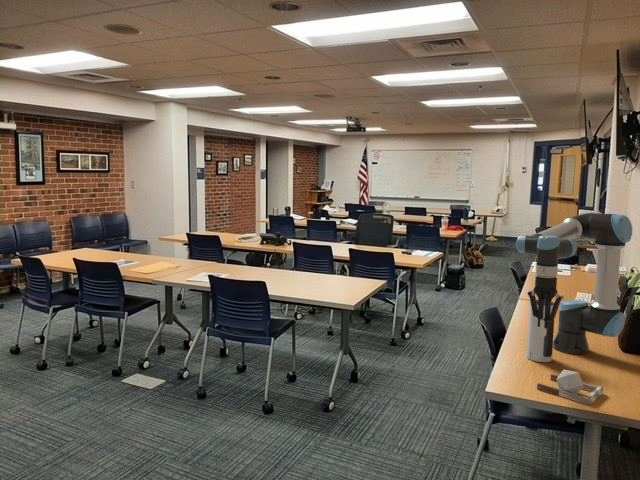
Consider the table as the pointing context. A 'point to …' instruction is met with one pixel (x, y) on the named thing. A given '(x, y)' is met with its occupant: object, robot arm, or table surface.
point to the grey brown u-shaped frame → (589, 400)
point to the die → (570, 381)
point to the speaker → (539, 339)
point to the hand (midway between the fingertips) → (542, 335)
